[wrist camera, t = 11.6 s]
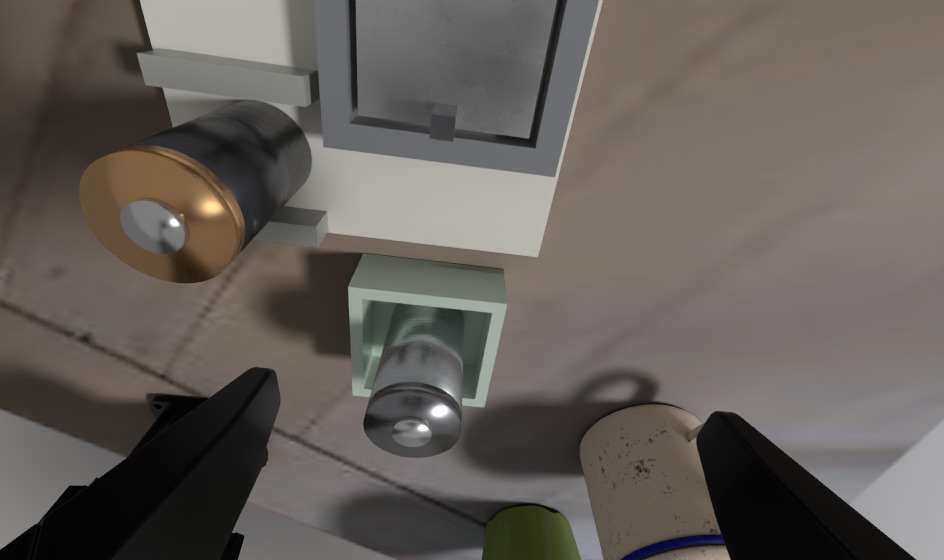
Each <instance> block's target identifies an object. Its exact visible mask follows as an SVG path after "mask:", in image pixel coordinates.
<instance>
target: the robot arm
mask: <svg viewBox="0 0 944 560" xmlns="http://www.w3.org/2000/svg"><path fill="white" fill-rule="evenodd" d="M149 405H150V408H151V410H152V412H153V414H154V416H155V419H156V421H155V422H154V423H153V425H152V426H151V427H150V429H149V430H148V431H147V433H146V434H145V435H144V436H143V438H142V439H141V440H140V442H139V443H138V444H137V446H136V447H135V448H134V449H133V451H132V452H131V453H130V455H129V456H128V457H127V458H126V459H125V460H123V461H122V462H121V463H119V464H118V465H116V466H115V467H114V468H112V469H111V470H110V471H108V472H107V473H106V474H104V475H103V476H101V477H100V478H96V479H95V480H94V481H93V482H92V483H91V484H90V485H89V486H85V485H84V486H69V487H68V488H67V489H66V490H65V491H64V493H63V494H62V495H61V496H60V497H59V498H58V500H57V501H56V502H55V503H54V505H53V506H52V507H51V508H50V509H49V510H48V512H47V513H46V514H45V515H44V516H43V517H42V519H41V520H40V521H39V522H38V523H37V524H35V525H34V526H32V527H31V528H29V529H28V530H27V531H25V532H24V533H23V534H21V535H20V536H18V537H17V538H16V539H14V540H13V541H12V542H10V543H9V544H7V545H6V546H5V547H3V548H2V549H1V550H0V560H238V557H239V554H240V550H241V547H242V543H243V539H244V535H242V534H239V533H232V531H233V529H234V527H235V524H236V522H237V520H238V518H239V516H240V513H241V511H242V509H243V507H244V506H245V503H246V501H247V499H248V497H249V495H250V492H251V490H252V488H253V486H254V484H255V482H256V479H257V477H258V475H259V473H260V471H261V469H262V467H264V466H265V465H266V463H267V461H268V457H267V456H268V451H267V447H266V446H267V443H268V440H269V437H270V434H271V431H272V428H273V425H274V422H275V419H276V416H277V413H278V410H279V406H280V392H279V386H278V381H277V375H276V372H275V371H274V370H273V369H269V368H259V367H254V368H251V369H249V370H247V371H246V372H244V373H243V374H242V375H240V376H239V377H238V378H236V379H235V380H233V381H232V382H231V383H229V384H228V385H227V386H225V387H224V388H222V389H221V390H220V391H218V392H217V393H216V394H214V395H213V396H211V397H210V398H209V399H207V400H196V399H185V398H174V397H162V396H156V397H154V398H153V400H152V401H151V402H150V404H149ZM696 445H697V450H698V454H699V457H700V461H701V465H702V469H703V473H704V477H705V480H706V484H707V488H708V492H709V496H710V499H711V503H712V507H713V510H714V514H715V517H716V521H717V523H718V526H719V529H720V532H721V535H722V538H723V540H724V543H725V546H726V549H727V551H728V554H729V557H730V560H916V559H915V558H914V557H912V556H911V555H910V554H909V553H907V552H906V551H905V550H904V549H903V548H901V547H900V546H899V545H898V544H896V543H895V542H894V541H893V540H892V539H890V538H889V537H888V536H887V535H885V534H884V533H883V532H882V531H880V530H879V529H878V528H877V527H875V526H874V525H873V524H872V523H871V522H869V521H868V520H867V519H866V518H864V517H863V516H862V515H861V514H859V513H858V512H857V511H856V510H855V509H853V508H852V507H851V506H850V505H848V504H847V503H846V502H845V501H844V500H842V499H841V498H840V497H839V496H837V495H836V494H835V493H834V492H832V491H831V490H830V489H829V488H828V487H826V486H825V485H824V484H823V483H821V482H820V481H819V480H818V479H816V478H815V477H814V476H813V475H812V474H810V473H809V472H808V471H807V470H805V469H804V468H803V467H802V466H800V465H799V464H798V463H797V462H796V461H794V460H793V459H792V458H791V457H789V456H788V455H787V454H786V453H784V452H783V451H782V450H781V449H780V448H778V447H777V446H776V445H775V444H773V443H772V442H771V441H770V440H769V439H767V438H766V437H765V436H764V435H762V434H761V433H760V432H759V431H757V430H756V429H755V428H754V427H753V426H751V425H750V424H749V423H748V422H746V421H745V420H744V419H743V418H741V417H740V416H739V415H737V414H735V413H732V412H722V411H715V412H713V413H712V414H711V415H710V417H709V418H708V419H707V421H706V422H705V424H704V425H703V427H702V428H701V430H700V431H699V432H698V434H697V437H696Z"/></svg>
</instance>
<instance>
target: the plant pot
mask: <svg viewBox="0 0 944 560" xmlns="http://www.w3.org/2000/svg"><path fill="white" fill-rule="evenodd" d="M482 560H581V558H580V555H579V552H578V549H577V545H576V542H575V539H574V536H573V533H572V530H571V527H570V524H569V521H568V520H567V519H566V517H565V516H564V515H562V514H561V513H559V512H557V513H552V512H550V511H548V510H546V509H545V508H544V507H539V506H520V507H512V508H508V509H505V510H503V511H501V512H499V513H498V514H497V515H496V516H495V517H494V519H493V520H491V521H488V523H487V527H486V533H485V540H484V547H483V554H482Z"/></svg>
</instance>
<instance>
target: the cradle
mask: <svg viewBox="0 0 944 560" xmlns="http://www.w3.org/2000/svg"><path fill="white" fill-rule="evenodd" d="M556 2H557V0H356V39H357V87H358V115H359V116H367V117H374V118H382V119H389V120H396V121H404V122H411V123H418V124H426V125H431V127H430V139H436V140H443V141H451V142H453V141H454V134H455V129H462V130H470V131H477V132H484V133H492V134H499V135H506V136H514V137H521V138H528V139H529V136H530V131H531V126H532V121H533V116H534V111H535V106H536V101H537V96H538V91H539V86H540V82H541V77H542V72H543V67H544V62H545V57H546V52H547V47H548V42H549V37H550V32H551V27H552V22H553V17H554V12H555V7H556Z"/></svg>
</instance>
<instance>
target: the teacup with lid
mask: <svg viewBox="0 0 944 560" xmlns="http://www.w3.org/2000/svg"><path fill="white" fill-rule="evenodd" d="M704 424H705V423H704ZM704 424H701V422H700V421H699V420H698V419H697V418H696V417H694V416H693V415H692V414H690V413H689V412H687V411H685V410H682V409H679V408H676V407H672V406H667V405H655V404H652V405H640V406H634V407H629V408H625V409H622V410H619V411H616V412H614V413H612V414H610V415H608V416H606V417H604V418H602V419H601V420H599V421H598V422H596V423H595V424H594V425H593V426H592V427H591V428H590V429H589V430H588V431H587V432H586V434H585V435H584V437H583V439H582V441H581V444H580V449H579V455H580V460H581V464H582V468H583V473H584V477H585V481H586V486H587V490H588V494H589V499H590V503H591V507H592V511H593V516H594V520H595V524H596V529H597V533H598V537H599V542H600V546H601V550H602V555H603V559H604V560H730V557H729V554H728V551H727V549H726V546H725V543H724V540H723V538H722V535H721V532H720V529H719V526H718V523H717V521H716V517H715V514H714V510H713V507H712V503H711V499H710V496H709V492H708V488H707V484H706V480H705V477H704V473H703V469H702V465H701V461H700V457H699V454H698V450H697V445H696V437H697V434H698V432H699V431H700V430H701V428H702V427H703V425H704Z"/></svg>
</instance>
